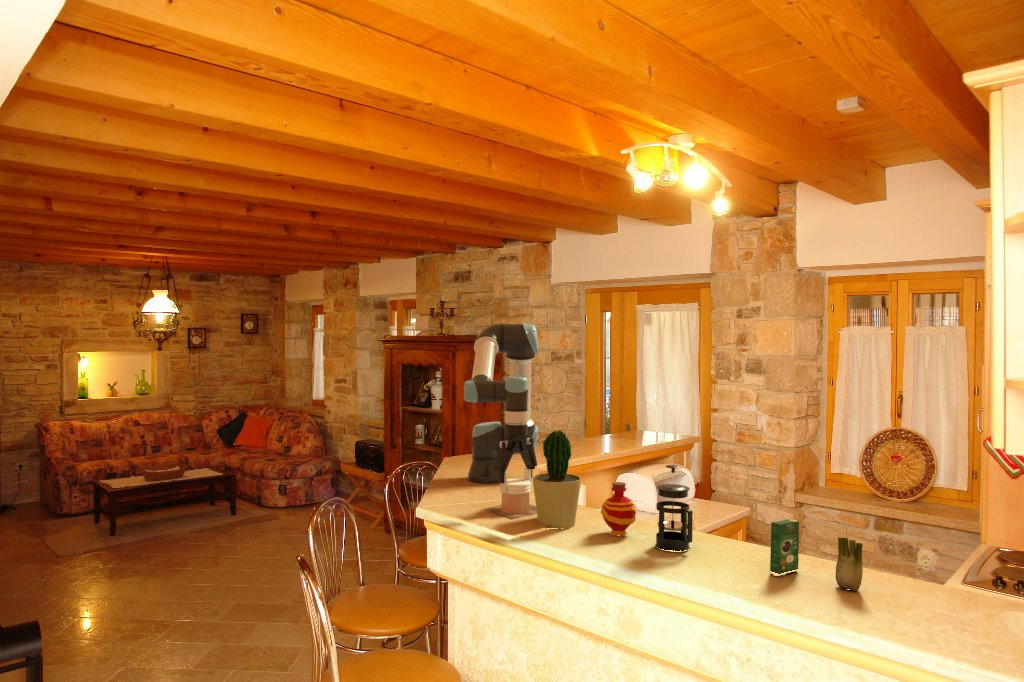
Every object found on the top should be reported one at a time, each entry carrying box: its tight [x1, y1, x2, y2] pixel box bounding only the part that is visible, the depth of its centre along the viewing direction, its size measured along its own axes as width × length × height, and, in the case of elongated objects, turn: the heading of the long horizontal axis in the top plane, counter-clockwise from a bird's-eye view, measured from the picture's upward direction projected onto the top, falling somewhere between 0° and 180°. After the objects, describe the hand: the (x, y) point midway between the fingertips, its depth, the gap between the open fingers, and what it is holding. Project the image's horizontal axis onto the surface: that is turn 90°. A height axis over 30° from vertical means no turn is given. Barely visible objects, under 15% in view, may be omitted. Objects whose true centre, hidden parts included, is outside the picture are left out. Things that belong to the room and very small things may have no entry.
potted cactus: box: [531, 429, 582, 530], centre depth 213 cm, size 15×15×30 cm
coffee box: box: [769, 518, 800, 574], centre depth 170 cm, size 8×3×13 cm, turn 122°
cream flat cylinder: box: [507, 478, 532, 495], centre depth 225 cm, size 10×10×4 cm
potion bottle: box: [600, 481, 637, 536], centre depth 203 cm, size 10×10×15 cm
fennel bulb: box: [834, 536, 864, 591], centre depth 159 cm, size 6×5×12 cm
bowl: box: [501, 491, 531, 514], centre depth 225 cm, size 9×9×6 cm
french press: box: [655, 464, 694, 551], centre depth 190 cm, size 12×9×23 cm
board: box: [479, 503, 537, 520], centre depth 225 cm, size 18×16×1 cm
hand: (515, 490), depth 225 cm, fingers closed on cream flat cylinder, 10 cm apart
